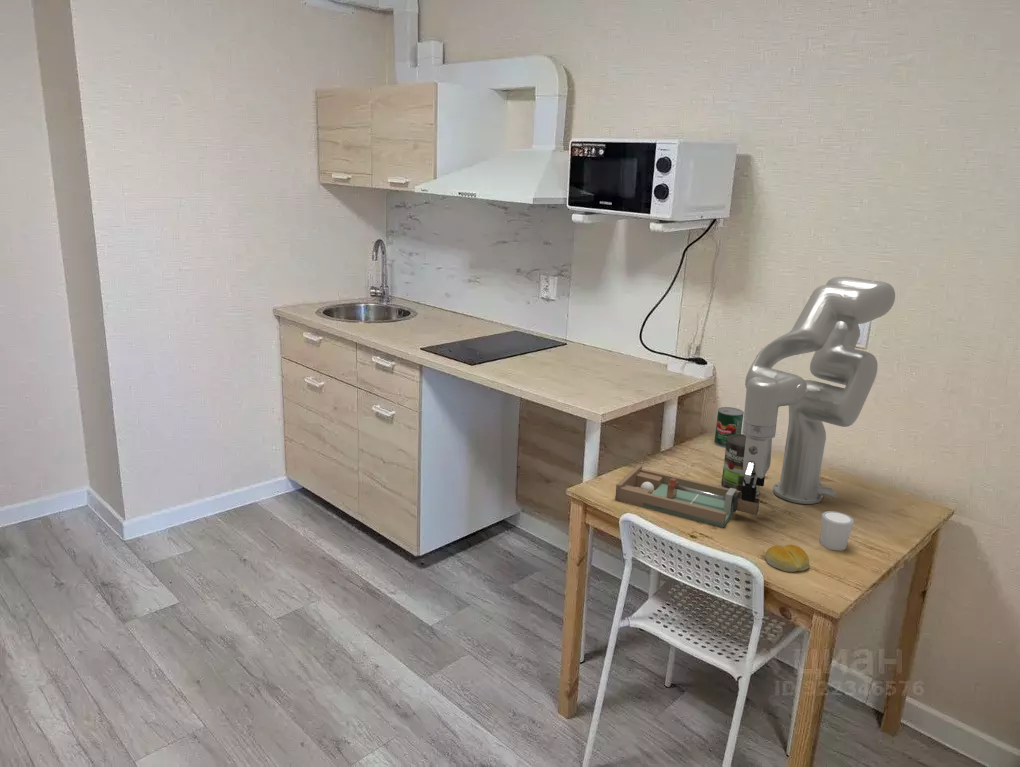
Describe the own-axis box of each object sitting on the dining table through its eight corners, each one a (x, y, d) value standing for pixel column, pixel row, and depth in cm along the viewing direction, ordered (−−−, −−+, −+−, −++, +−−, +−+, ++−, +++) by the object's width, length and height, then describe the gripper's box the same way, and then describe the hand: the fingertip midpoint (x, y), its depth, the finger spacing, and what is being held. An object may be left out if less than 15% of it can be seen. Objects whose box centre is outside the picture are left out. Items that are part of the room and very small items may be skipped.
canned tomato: (739, 441, 239) (743, 408, 235) (740, 449, 231) (744, 416, 228) (714, 438, 241) (718, 405, 237) (713, 446, 233) (717, 413, 230)
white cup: (812, 537, 176) (816, 510, 174) (839, 537, 176) (844, 510, 174) (825, 551, 169) (830, 524, 167) (854, 551, 170) (859, 524, 168)
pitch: (738, 504, 192) (741, 481, 191) (723, 527, 179) (726, 504, 177) (636, 479, 205) (638, 458, 204) (615, 500, 192) (617, 477, 190)
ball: (642, 479, 198) (644, 492, 198) (637, 484, 195) (639, 496, 195) (654, 479, 196) (656, 492, 196) (650, 484, 193) (652, 497, 193)
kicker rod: (758, 512, 184) (761, 495, 183) (754, 519, 180) (757, 502, 179) (671, 491, 195) (673, 475, 194) (665, 497, 191) (667, 481, 190)
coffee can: (742, 500, 195) (748, 449, 191) (712, 485, 203) (718, 437, 199) (768, 492, 200) (775, 443, 196) (738, 478, 209) (744, 431, 205)
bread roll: (758, 555, 167) (761, 539, 166) (795, 554, 168) (798, 538, 167) (776, 574, 159) (779, 558, 158) (815, 573, 160) (817, 556, 159)
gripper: (767, 443, 169) (760, 510, 174) (782, 419, 183) (775, 482, 188) (734, 437, 172) (728, 503, 178) (751, 414, 187) (745, 476, 192)
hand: (752, 492), depth 183 cm, fingers open, 9 cm apart
